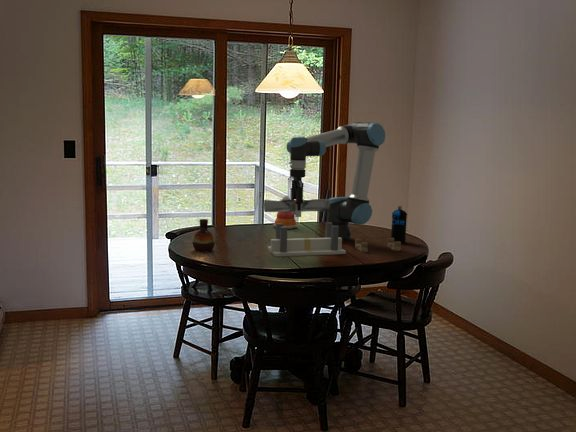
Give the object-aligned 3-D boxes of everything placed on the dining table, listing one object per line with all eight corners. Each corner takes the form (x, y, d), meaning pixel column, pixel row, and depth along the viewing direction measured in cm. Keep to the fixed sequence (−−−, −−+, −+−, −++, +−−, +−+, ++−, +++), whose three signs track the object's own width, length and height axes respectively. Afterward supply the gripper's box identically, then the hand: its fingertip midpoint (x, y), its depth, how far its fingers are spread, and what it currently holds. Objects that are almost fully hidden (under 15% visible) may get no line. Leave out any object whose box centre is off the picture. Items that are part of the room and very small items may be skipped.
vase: (219, 249, 309) (219, 219, 306) (205, 253, 299) (205, 222, 297) (201, 247, 314) (201, 217, 312) (187, 250, 305) (187, 220, 302)
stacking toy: (294, 230, 364) (295, 197, 361) (270, 228, 367) (271, 196, 364) (299, 226, 378) (300, 194, 375) (276, 224, 381) (277, 193, 378)
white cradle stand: (267, 249, 312) (268, 222, 310) (335, 247, 321) (336, 221, 319) (274, 256, 297) (275, 228, 295) (345, 253, 306) (346, 227, 304)
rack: (354, 247, 321) (355, 239, 320) (392, 246, 326) (393, 238, 325) (361, 251, 311) (362, 243, 310) (400, 250, 316) (400, 242, 315)
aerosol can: (393, 240, 343) (395, 204, 339) (407, 241, 338) (409, 205, 335) (388, 242, 336) (389, 206, 332) (402, 244, 331) (404, 207, 328)
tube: (266, 213, 298) (266, 200, 297) (263, 211, 303) (263, 198, 302) (329, 212, 305) (329, 199, 304) (325, 210, 311) (326, 198, 310)
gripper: (285, 167, 309) (284, 212, 313) (295, 170, 291) (293, 219, 295) (300, 167, 311) (298, 212, 315) (310, 170, 293) (309, 218, 297)
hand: (296, 215), depth 305 cm, fingers closed on tube, 6 cm apart
